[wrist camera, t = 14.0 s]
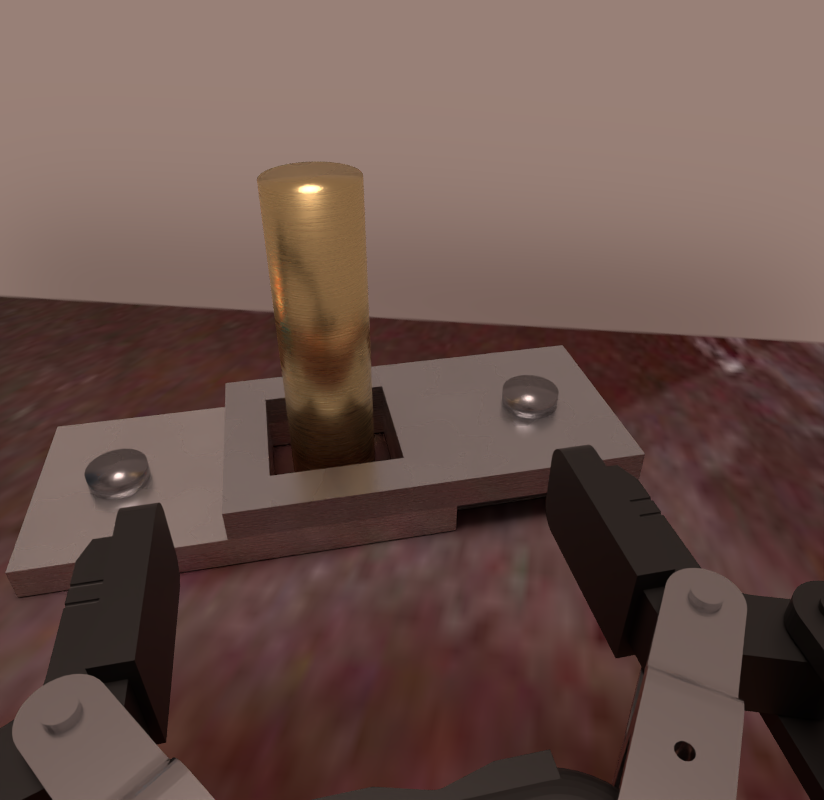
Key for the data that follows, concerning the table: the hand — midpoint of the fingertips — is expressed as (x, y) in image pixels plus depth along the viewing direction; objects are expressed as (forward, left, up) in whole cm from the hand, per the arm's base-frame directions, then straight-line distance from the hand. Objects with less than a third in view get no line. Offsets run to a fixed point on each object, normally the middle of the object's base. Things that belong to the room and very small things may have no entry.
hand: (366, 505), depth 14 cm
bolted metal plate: (0, +11, -8) cm, 14 cm away
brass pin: (0, +11, -8) cm, 14 cm away
